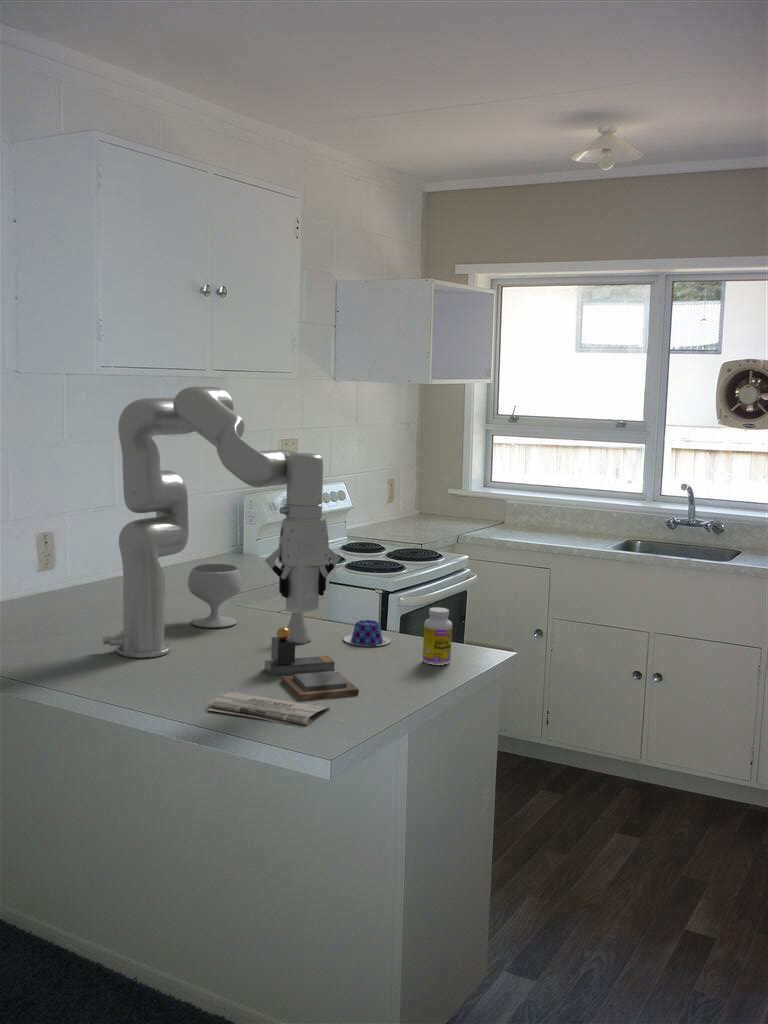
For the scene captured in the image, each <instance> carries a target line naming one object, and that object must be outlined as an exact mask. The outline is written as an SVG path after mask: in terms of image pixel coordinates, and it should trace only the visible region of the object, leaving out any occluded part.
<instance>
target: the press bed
mask: <svg viewBox="0 0 768 1024" xmlns="http://www.w3.org/2000/svg"><path fill="white" fill-rule="evenodd" d="M281 683H283V685H284V686H285V687H286V688H287V689H288V690H289V691H290V692H291V693H292V694H293V696H295V697H296V698H297V699H298V700H299V701H307V700H316V699H317V700H318V699H326V698H327V699H328V698H329V697H330V698H337V697H336V696H341V697H346V696H345V695H351V696H355V695H354V694H359V693H360V689H359V688H358V687H357V686H355V685H354V684H353V683H352V682H350V680H349V679H347V677H345V676H343V674H341V673H340V672H339V671H334V670H331V671H319V672H307V673H295V674H292V675H282V676H281Z"/></svg>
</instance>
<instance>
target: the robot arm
mask: <svg viewBox="0 0 768 1024" xmlns="http://www.w3.org/2000/svg"><path fill="white" fill-rule="evenodd" d="M117 424H118V427H117V428H118V430H117V431H118V438H119V443H120V448H121V457H122V464H121V465H122V486H123V500H124V503H125V506H126V508H127V509H128V511H130V512H131V513H135V514H148V513H155V517H146V518H140V519H135V520H132V521H130V522H128V523H127V524H125V525H124V526H123V527H122V529H121V530H120V533H119V535H118V547H119V552H120V556H121V557H120V558H121V562H122V563H121V564H122V579H123V580H122V594H123V597H122V599H123V600H122V601H123V603H122V604H123V608H122V609H123V611H122V613H123V615H122V617H123V618H122V620H123V621H122V623H123V624H122V626H123V628H122V629H123V630H120V633H118V634H116V635H114V636H113V635H112V636H111V635H108V636H107V635H103V636H102V646H103V645H109V647H113V646H116V647H115V648H116V651H117V652H116V653H117V654H118V653H119V654H118V655H120V656H122V655H123V657H127V658H134V657H135V658H138V659H141V658H143V659H146V658H147V657H149V658H155V657H156V658H157V657H160V656H161V657H162V656H165V655H167V654H168V653H170V652H171V650H172V646H171V645H172V644H170V642H167V641H165V622H166V621H165V618H166V616H165V613H166V612H165V610H166V609H165V605H166V604H165V599H166V597H165V596H166V595H165V594H166V588H165V587H166V586H165V584H166V583H165V582H166V581H165V574H164V570H163V567H162V566H161V563H160V561H159V558H162V557H168V556H172V555H176V554H179V553H180V552H182V551H183V550H184V549H185V548H186V546H187V544H188V541H189V534H190V533H189V529H190V528H189V525H190V523H189V499H188V489H187V486H186V483H185V480H184V479H183V478H182V477H181V475H180V474H179V473H177V472H175V471H172V470H165V469H164V470H161V456H160V452H159V448H158V445H157V444H156V442H155V440H154V439H153V437H154V436H173V435H174V436H175V435H176V436H177V435H186V434H190V433H197V434H198V435H200V436H201V437H202V438H203V439H205V440H206V441H207V442H209V443H210V444H211V445H213V446H214V447H215V448H216V454H217V455H218V458H219V460H220V462H221V464H222V466H224V467H225V469H226V470H227V471H228V472H230V473H231V474H232V475H233V476H235V477H236V478H238V479H239V481H241V482H243V484H246V485H248V486H250V487H253V488H258V489H259V488H260V489H261V488H267V487H275V486H276V487H277V486H278V487H279V486H286V499H285V500H286V502H285V504H284V506H282V507H279V514H280V515H284V516H285V518H283V519H282V522H281V523H282V524H281V527H280V534H279V541H278V547H277V549H276V550H274V551H273V552H272V553H271V554H270V555H268V556H267V557H266V558H265V560H264V562H265V563H266V564H267V565H268V566H269V568H270V570H272V572H274V573H275V575H276V576H278V577H279V581H278V582H279V584H278V585H279V586H278V592H279V594H281V597H283V598H285V599H286V598H288V597H289V579H287V575H288V573H289V571H290V569H291V568H297V567H298V558H302V565H303V567H318V568H319V597H320V596H321V597H322V596H324V593H325V592H326V587H327V577H328V576H329V574H330V573H331V572H332V571H333V570H334V569H335V566H336V565H337V564H338V563H339V562H340V560H341V557H340V556H339V555H338V554H337V553H335V551H333V550H332V549H331V548H330V543H329V541H330V540H329V531H328V523H327V520H326V518H323V490H324V488H323V487H324V486H323V485H324V484H323V482H324V481H323V480H324V479H323V478H324V461H323V459H324V458H322V456H321V455H319V454H317V453H308V452H305V453H303V452H296V451H292V450H288V449H287V450H286V449H276V450H275V449H273V450H272V449H271V450H260V451H258V450H256V449H255V448H253V446H251V445H249V444H248V443H247V442H245V441H244V440H243V439H242V436H243V434H244V432H245V422H244V419H243V418H242V417H241V416H240V415H239V414H237V413H236V412H235V411H234V402H233V399H232V396H231V395H230V394H229V393H228V392H227V391H226V390H225V389H223V388H221V387H217V386H189V387H185V388H183V389H182V390H180V391H179V392H178V393H177V394H176V395H175V397H166V398H165V397H147V398H140V399H137V400H133V401H132V402H130V403H129V404H127V405H126V406H125V407H124V408H123V409H122V411H121V414H120V416H119V419H118V423H117ZM277 559H278V562H279V563H281V565H280V566H279V567H278V565H277V564H276V562H275V561H277ZM147 659H148V658H147Z"/></svg>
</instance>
